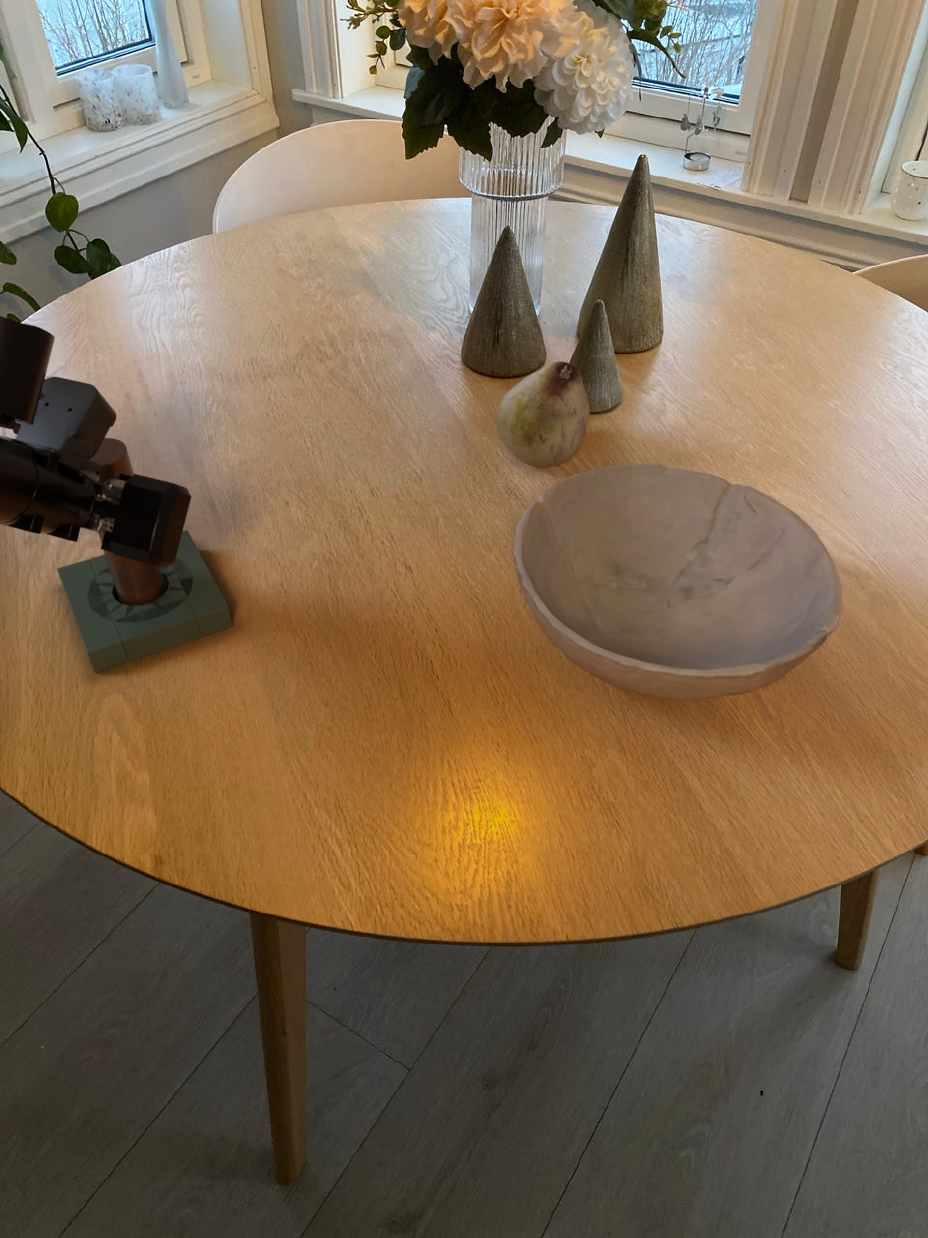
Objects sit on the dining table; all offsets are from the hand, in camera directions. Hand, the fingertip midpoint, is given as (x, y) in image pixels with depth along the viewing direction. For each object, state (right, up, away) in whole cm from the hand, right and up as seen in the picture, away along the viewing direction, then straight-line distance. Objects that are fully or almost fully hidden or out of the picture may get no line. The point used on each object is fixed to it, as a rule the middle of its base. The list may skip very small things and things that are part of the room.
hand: (132, 517), depth 81 cm
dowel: (-1, -6, +4) cm, 8 cm away
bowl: (+45, -11, +3) cm, 46 cm away
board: (-1, -7, +5) cm, 9 cm away
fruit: (+36, +9, +24) cm, 44 cm away
